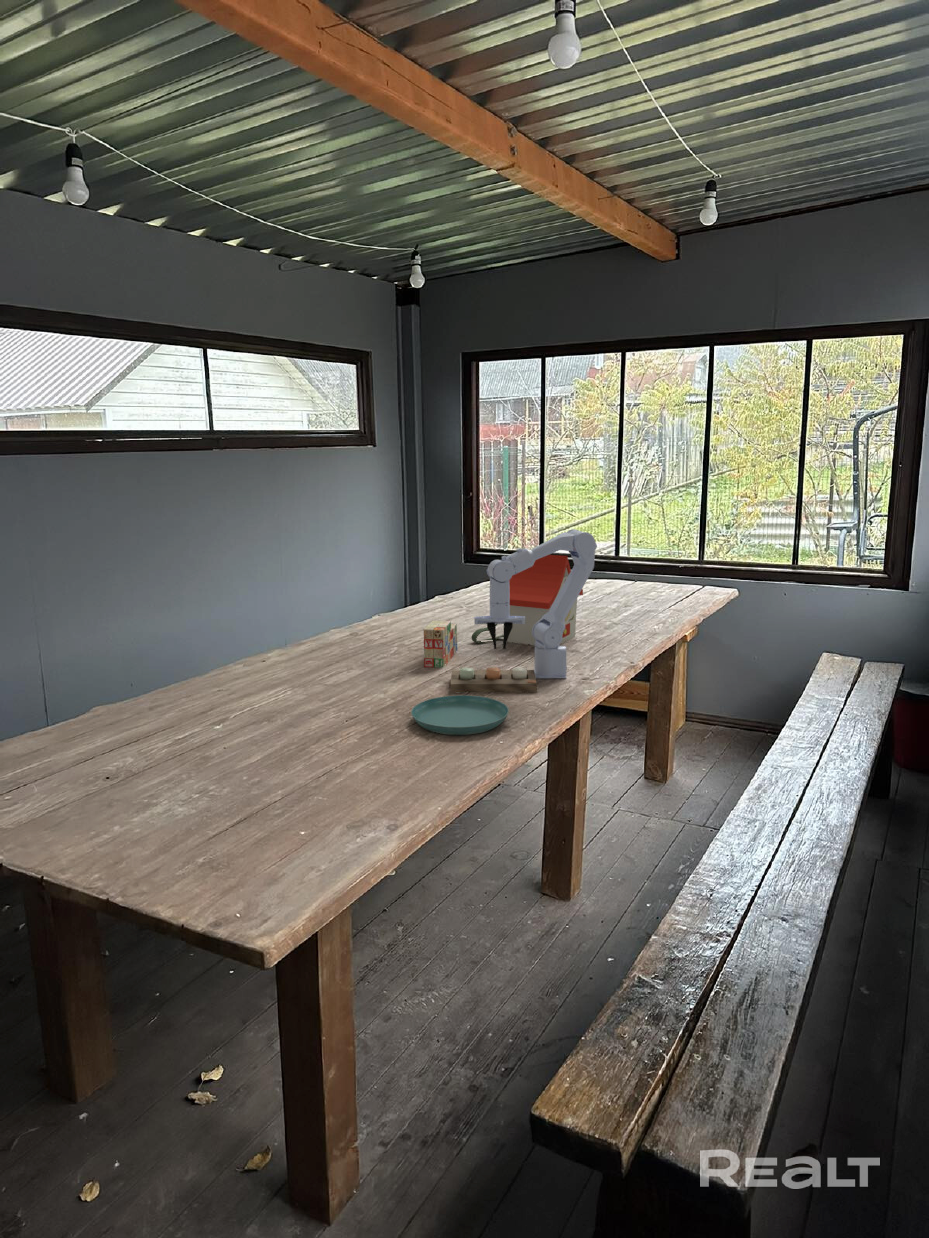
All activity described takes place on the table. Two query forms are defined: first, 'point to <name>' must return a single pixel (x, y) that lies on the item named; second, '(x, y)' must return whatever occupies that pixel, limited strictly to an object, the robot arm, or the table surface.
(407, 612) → the table surface
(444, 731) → the saucer
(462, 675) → the sage button
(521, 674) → the cream button
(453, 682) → the panel
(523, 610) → the birdhouse
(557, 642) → the robot arm
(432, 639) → the stack of blocks
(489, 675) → the terracotta button
